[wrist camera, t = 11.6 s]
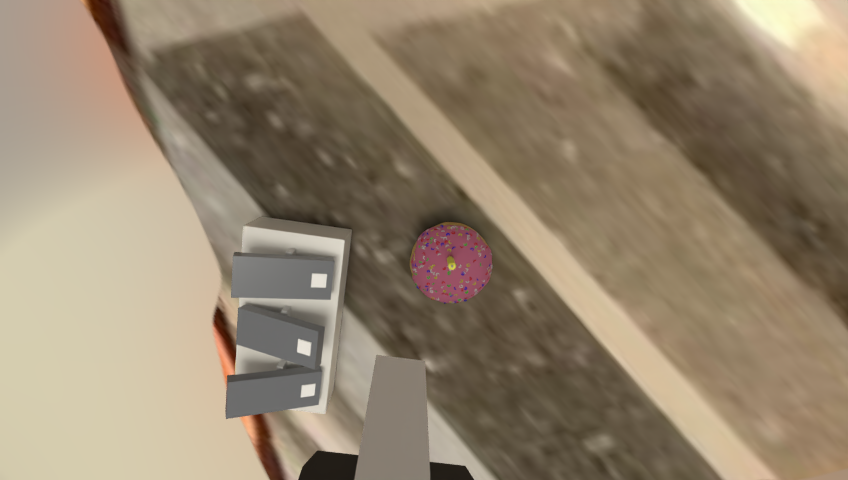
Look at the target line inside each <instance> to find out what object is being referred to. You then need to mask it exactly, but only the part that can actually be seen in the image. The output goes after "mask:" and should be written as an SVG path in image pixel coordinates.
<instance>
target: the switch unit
mask: <svg viewBox="0 0 848 480" xmlns="http://www.w3.org/2000/svg"><path fill="white" fill-rule="evenodd" d="M351 235H352V229H345V228H338V227H331V226H324V225H317V224H310V223H303V222H296V221H289V220H282V219H275V218H268V217H259V218H257V219H255V220H254V221H252V222H250V223H248V224H246V225H244V226H243V241H242V253H260V254H277V255H295V256H313V257H331V258H334V261H335V263H334V272H333V282H332V291H331V300H315V299H273V298H239V307H241V306H243V305H245V304H248V305H252V306H255V307H259V308H262V309H265V310H269V311H272V312H276V313H279V314H283V315H286V316H290V317H293V318H296V319H300V320H303V321H307V322H310V323H314V324H317V325H320V326H324V327H325V331H324V341H323V350H322V359H321V364H320V365H319V366H320V367H321V370H322V379H321V388H320V397H319V405H315V406H308V407H301V408H295V409H288V410H296V411H304V412H313V413H321V414H325V413H326V410H327V407H328V404H329V401H330V398H331V395H332V392H333V389H334V382H335V373H336V365H337V356H338V347H339V339H340V330H341V321H342V313H343V304H344V295H345V287H346V278H347V270H348V261H349V252H350V244H351ZM302 367H305V366H302V365H299V364H296V363H293V362H289V361H286V360H283V359H280V358H277V357H274V356H271V355H268V354H265V353H262V352H258V351H255V350H252V349H249V348H246V347H243V346H240V345H237V351H236V361H235V375H237V374H247V373H256V372H265V371H274V370H284V369H293V368H302Z"/></svg>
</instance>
